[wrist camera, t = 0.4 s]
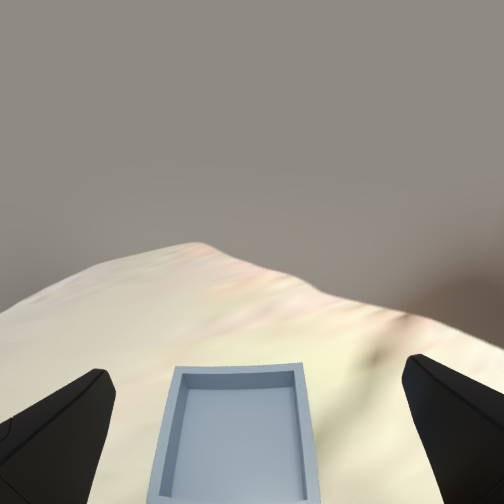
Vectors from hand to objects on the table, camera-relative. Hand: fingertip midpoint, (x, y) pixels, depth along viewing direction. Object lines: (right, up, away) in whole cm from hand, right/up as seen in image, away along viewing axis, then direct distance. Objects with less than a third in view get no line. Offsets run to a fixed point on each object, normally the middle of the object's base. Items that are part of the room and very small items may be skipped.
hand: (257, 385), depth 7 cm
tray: (-1, -12, +12) cm, 17 cm away
